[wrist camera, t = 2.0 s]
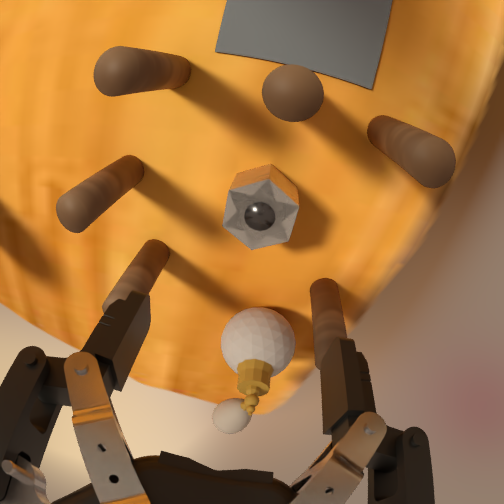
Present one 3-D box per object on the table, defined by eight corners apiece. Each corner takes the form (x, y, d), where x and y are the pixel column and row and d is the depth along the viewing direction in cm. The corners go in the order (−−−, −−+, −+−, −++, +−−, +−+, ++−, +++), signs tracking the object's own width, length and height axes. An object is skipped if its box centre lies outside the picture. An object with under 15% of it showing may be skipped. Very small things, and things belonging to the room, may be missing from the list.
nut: (240, 156, 23) (232, 171, 19) (301, 170, 23) (305, 188, 20) (228, 219, 26) (219, 243, 22) (283, 232, 26) (283, 257, 23)
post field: (128, 54, 18) (57, 51, 11) (406, 111, 19) (467, 133, 11) (118, 253, 29) (75, 310, 22) (331, 302, 30) (341, 373, 22)
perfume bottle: (301, 298, 30) (303, 402, 20) (285, 356, 35) (282, 444, 25) (227, 289, 30) (202, 390, 20) (225, 348, 35) (207, 435, 25)
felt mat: (242, -52, 13) (242, -53, 13) (394, -14, 13) (395, -15, 13) (215, 51, 18) (214, 51, 18) (371, 89, 19) (371, 89, 18)
